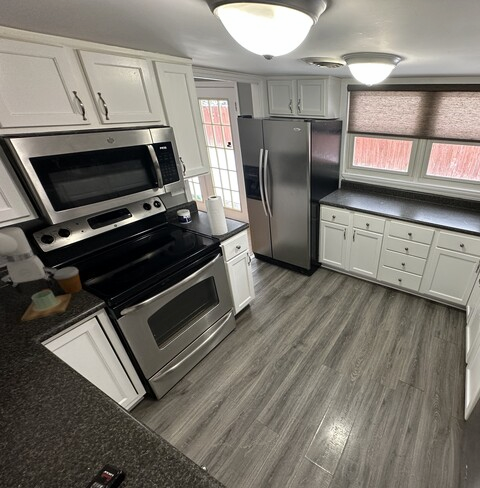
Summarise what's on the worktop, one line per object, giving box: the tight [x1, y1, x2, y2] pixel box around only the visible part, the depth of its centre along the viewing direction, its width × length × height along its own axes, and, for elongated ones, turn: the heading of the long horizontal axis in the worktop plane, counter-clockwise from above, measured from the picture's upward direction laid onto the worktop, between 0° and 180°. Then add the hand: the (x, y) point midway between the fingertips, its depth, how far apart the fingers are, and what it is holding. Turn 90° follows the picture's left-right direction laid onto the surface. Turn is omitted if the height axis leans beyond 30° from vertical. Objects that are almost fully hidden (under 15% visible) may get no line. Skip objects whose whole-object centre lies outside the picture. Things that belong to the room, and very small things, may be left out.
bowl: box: [30, 288, 61, 312], centre depth 123 cm, size 10×10×6 cm
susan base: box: [20, 293, 72, 323], centre depth 124 cm, size 14×14×2 cm
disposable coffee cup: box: [52, 266, 83, 295], centre depth 135 cm, size 10×10×12 cm
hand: (37, 289), depth 119 cm, fingers open, 9 cm apart
